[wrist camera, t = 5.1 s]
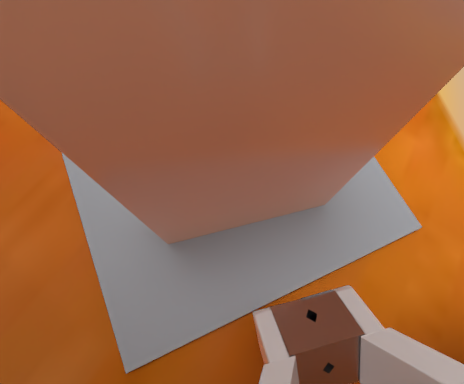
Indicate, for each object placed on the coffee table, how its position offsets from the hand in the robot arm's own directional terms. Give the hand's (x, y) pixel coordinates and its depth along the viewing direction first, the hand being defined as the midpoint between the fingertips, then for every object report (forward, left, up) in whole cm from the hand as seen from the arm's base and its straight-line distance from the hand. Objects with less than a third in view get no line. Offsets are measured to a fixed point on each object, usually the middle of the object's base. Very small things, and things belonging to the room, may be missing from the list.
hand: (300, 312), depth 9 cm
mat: (+1, +11, -7) cm, 13 cm away
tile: (+1, +5, -6) cm, 8 cm away
